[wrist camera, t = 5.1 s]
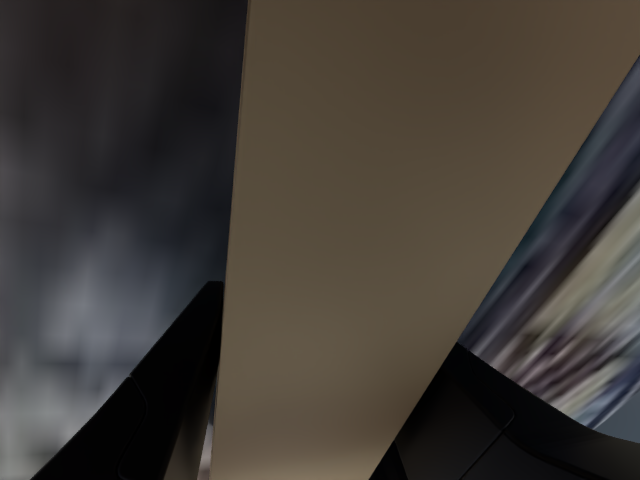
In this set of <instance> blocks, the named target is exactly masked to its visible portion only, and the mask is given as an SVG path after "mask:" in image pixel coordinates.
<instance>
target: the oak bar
mask: <svg viewBox="0 0 640 480" xmlns="http://www.w3.org/2000/svg"><path fill="white" fill-rule="evenodd" d="M639 55H640V0H248V8H247V20H246V33H245V45H244V57H243V69H242V82H241V94H240V106H239V118H238V130H237V143H236V155H235V167H234V179H233V192H232V204H231V216H230V228H229V241H228V253H227V265H226V277H225V289H224V302H223V315H222V330H221V344H220V357H219V366H218V375H217V387H216V400H215V412H214V424H213V437H212V450H211V463H210V476H209V480H368V479H369V478H370V476H371V475H372V473H373V472H374V470H375V468H376V467H377V465H378V464H379V462H380V461H381V459H382V457H383V456H384V454H385V453H386V451H387V450H388V448H389V447H390V445H391V443H392V442H393V440H394V439H395V437H396V436H397V434H398V432H399V431H400V429H401V428H402V426H403V425H404V423H405V421H406V420H407V418H408V417H409V415H410V414H411V412H412V410H413V409H414V407H415V406H416V404H417V403H418V401H419V399H420V398H421V396H422V395H423V393H424V392H425V390H426V389H427V387H428V385H429V384H430V382H431V381H432V379H433V378H434V376H435V374H436V373H437V371H438V370H439V368H440V367H441V365H442V363H443V362H444V360H445V359H446V357H447V356H448V354H449V352H450V351H451V349H452V348H453V346H454V345H455V343H456V341H457V340H458V338H459V337H460V335H461V334H462V332H463V330H464V329H465V327H466V326H467V324H468V323H469V321H470V320H471V318H472V316H473V315H474V313H475V312H476V310H477V309H478V307H479V305H480V304H481V302H482V301H483V299H484V298H485V296H486V294H487V293H488V291H489V290H490V288H491V287H492V285H493V283H494V282H495V280H496V279H497V277H498V276H499V274H500V272H501V271H502V269H503V268H504V266H505V265H506V263H507V262H508V260H509V258H510V257H511V255H512V254H513V252H514V251H515V249H516V247H517V246H518V244H519V243H520V241H521V240H522V238H523V236H524V235H525V233H526V232H527V230H528V229H529V227H530V225H531V224H532V222H533V221H534V219H535V218H536V216H537V214H538V213H539V211H540V210H541V208H542V207H543V205H544V203H545V202H546V200H547V199H548V197H549V196H550V194H551V193H552V191H553V189H554V188H555V186H556V185H557V183H558V182H559V180H560V178H561V177H562V175H563V174H564V172H565V171H566V169H567V167H568V166H569V164H570V163H571V161H572V160H573V158H574V156H575V155H576V153H577V152H578V150H579V149H580V147H581V145H582V144H583V142H584V141H585V139H586V138H587V136H588V135H589V133H590V131H591V130H592V128H593V127H594V125H595V124H596V122H597V120H598V119H599V117H600V116H601V114H602V113H603V111H604V109H605V108H606V106H607V105H608V103H609V102H610V100H611V98H612V97H613V95H614V94H615V92H616V91H617V89H618V87H619V86H620V84H621V83H622V81H623V80H624V78H625V77H626V75H627V73H628V72H629V70H630V69H631V67H632V66H633V64H634V62H635V61H636V59H637V58H638V56H639Z"/></svg>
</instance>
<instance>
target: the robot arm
mask: <svg viewBox="0 0 640 480" xmlns="http://www.w3.org/2000/svg"><path fill="white" fill-rule="evenodd" d="M223 289H224V283H223V282H222V281H208V282H207V283H206V284H205V285H204V286H203V288H202V289H201V290H200V291H199V292H198V293H197V295H196V296H195V297H194V298H193V299H192V301H191V302H190V303H189V304H188V305H187V307H186V308H185V309H184V310H183V311H182V312H181V314H180V315H179V316H178V317H177V318H176V320H175V321H174V322H173V323H172V324H171V326H170V327H169V328H168V329H167V330H166V332H165V333H164V334H163V335H162V336H161V337H160V339H159V340H158V341H157V342H156V343H155V345H154V346H153V347H152V348H151V349H150V351H149V352H148V353H147V354H146V355H145V356H144V358H143V359H142V360H141V361H140V362H139V364H138V365H137V366H136V367H135V368H134V370H133V371H132V372H131V373H130V375H129V376H130V377H127V378H126V379H125V380H124V381H123V382H122V384H121V385H120V386H119V387H118V388H117V390H116V391H115V392H114V393H113V394H112V395H111V397H110V398H109V399H108V400H107V401H106V402H105V403H104V404H103V406H102V407H101V408H100V409H99V410H98V411H97V412H96V413H95V415H94V416H93V417H92V418H91V419H90V420H89V421H88V422H87V423H86V424H85V425H84V426H83V427H82V428H81V429H80V430H79V431H78V432H77V433H76V434H75V435H74V436H73V437H72V438H71V439H70V440H69V441H68V442H67V443H66V444H65V445H64V446H63V447H62V448H61V449H60V450H59V451H58V452H57V453H56V454H55V455H54V456H53V457H52V458H51V459H50V460H49V461H48V462H47V463H46V464H45V465H44V466H43V467H42V468H41V469H40V470H39V471H38V472H37V473H36V474H35V475H34V476H33V477H32V478H31V479H30V480H197V476H198V471H199V466H200V461H201V455H202V450H203V445H204V440H205V435H206V429H207V424H208V419H209V414H210V408H211V403H212V398H213V393H214V388H215V382H216V377H217V372H218V366H219V357H220V344H221V330H222V315H223ZM368 480H640V443H635V442H631V441H627V440H623V439H619V438H615V437H612V436H608V435H605V434H602V433H599V432H597V431H595V430H592V429H590V428H588V427H586V426H584V425H582V424H580V423H578V422H577V421H575V420H573V419H572V418H570V417H568V416H567V415H565V414H564V413H562V412H561V411H559V410H557V409H556V408H554V407H553V406H551V405H550V404H548V403H546V402H545V401H543V400H542V399H540V398H539V397H537V396H535V395H534V394H532V393H531V392H529V391H528V390H526V389H524V388H523V387H521V386H520V385H518V384H517V383H515V382H514V381H512V380H511V379H509V378H508V377H506V376H504V375H503V374H501V373H500V372H498V371H497V370H496V369H494V368H493V367H491V366H490V365H488V364H487V363H485V362H484V361H483V360H481V359H480V358H478V357H477V356H476V355H474V354H473V353H472V352H470V351H467V349H466V348H464V347H463V346H462V345H460V344H459V343H458V342H456V343H455V345H454V346H453V348H452V349H451V351H450V352H449V354H448V356H447V357H446V359H445V360H444V362H443V363H442V365H441V367H440V368H439V370H438V371H437V373H436V374H435V376H434V378H433V379H432V381H431V382H430V384H429V385H428V387H427V389H426V390H425V392H424V393H423V395H422V396H421V398H420V399H419V401H418V403H417V404H416V406H415V407H414V409H413V410H412V412H411V414H410V415H409V417H408V418H407V420H406V421H405V423H404V425H403V426H402V428H401V429H400V431H399V432H398V434H397V436H396V437H395V439H394V440H393V442H392V443H391V445H390V447H389V448H388V450H387V451H386V453H385V454H384V456H383V457H382V459H381V461H380V462H379V464H378V465H377V467H376V468H375V470H374V472H373V473H372V475H371V476H370V478H369V479H368Z"/></svg>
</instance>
